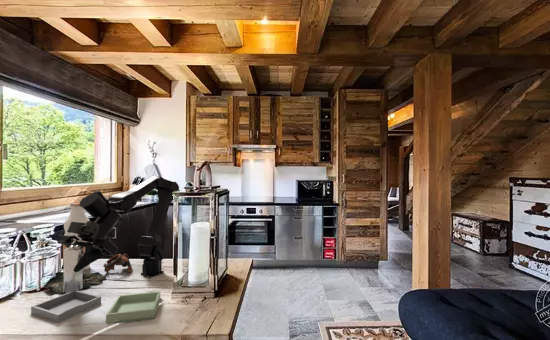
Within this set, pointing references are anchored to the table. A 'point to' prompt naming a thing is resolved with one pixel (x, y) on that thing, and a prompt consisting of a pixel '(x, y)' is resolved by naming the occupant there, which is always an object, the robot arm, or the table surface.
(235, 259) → the table surface
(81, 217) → the fruit juice
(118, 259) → the brown arched figure
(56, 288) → the decorative rock
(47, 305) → the tray
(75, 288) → the pebble canister
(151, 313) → the tray
